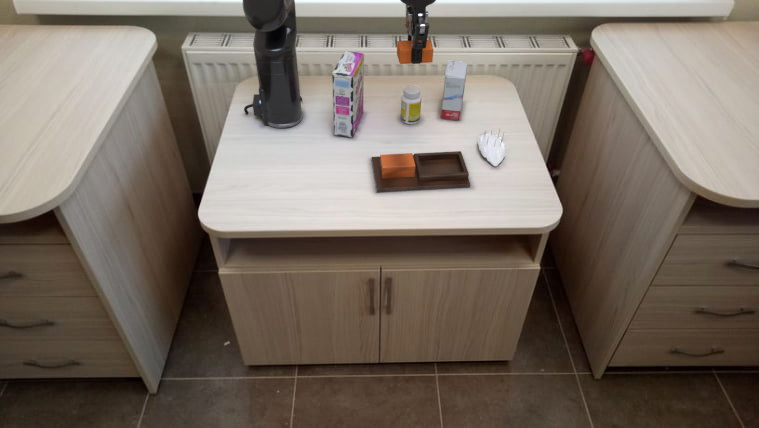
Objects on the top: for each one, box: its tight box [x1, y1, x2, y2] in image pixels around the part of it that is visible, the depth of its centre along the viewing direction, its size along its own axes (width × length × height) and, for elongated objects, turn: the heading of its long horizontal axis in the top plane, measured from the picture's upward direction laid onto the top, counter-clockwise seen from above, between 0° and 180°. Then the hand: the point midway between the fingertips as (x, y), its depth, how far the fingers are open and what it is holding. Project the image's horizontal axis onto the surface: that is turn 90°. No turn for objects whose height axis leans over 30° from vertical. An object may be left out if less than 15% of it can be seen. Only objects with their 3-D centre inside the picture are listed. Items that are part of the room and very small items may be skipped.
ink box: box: [440, 59, 468, 121], centre depth 133 cm, size 9×5×12 cm, turn 168°
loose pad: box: [396, 39, 434, 65], centre depth 115 cm, size 7×4×3 cm, turn 97°
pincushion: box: [477, 129, 507, 167], centre depth 123 cm, size 12×6×6 cm, turn 1°
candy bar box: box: [331, 50, 365, 139], centre depth 126 cm, size 11×5×16 cm, turn 168°
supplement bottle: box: [400, 84, 422, 125], centre depth 131 cm, size 5×5×8 cm
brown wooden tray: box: [371, 150, 471, 194], centre depth 117 cm, size 20×11×4 cm, turn 96°
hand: (414, 56), depth 116 cm, fingers closed on loose pad, 4 cm apart
